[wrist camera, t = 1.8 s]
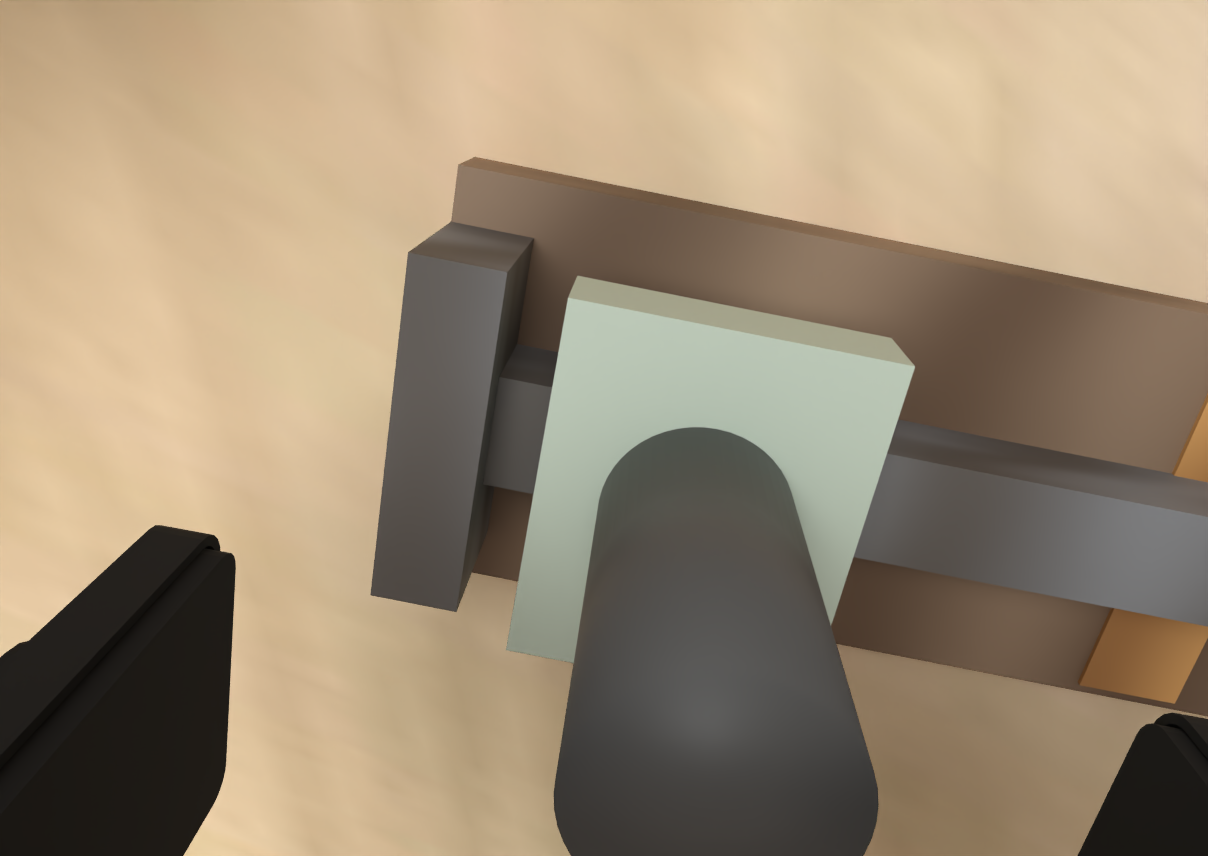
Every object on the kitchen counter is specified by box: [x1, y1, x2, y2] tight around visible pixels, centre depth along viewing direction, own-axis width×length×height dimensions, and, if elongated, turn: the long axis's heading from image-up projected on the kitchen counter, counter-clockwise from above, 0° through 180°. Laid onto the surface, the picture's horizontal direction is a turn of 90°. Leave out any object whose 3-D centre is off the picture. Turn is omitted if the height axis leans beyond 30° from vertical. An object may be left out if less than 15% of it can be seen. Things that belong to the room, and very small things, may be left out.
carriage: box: [506, 276, 915, 856], centre depth 13 cm, size 5×6×10 cm
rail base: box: [371, 157, 1208, 716], centre depth 17 cm, size 20×8×4 cm, turn 80°
